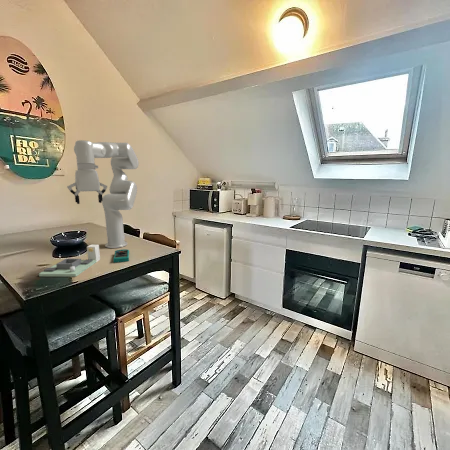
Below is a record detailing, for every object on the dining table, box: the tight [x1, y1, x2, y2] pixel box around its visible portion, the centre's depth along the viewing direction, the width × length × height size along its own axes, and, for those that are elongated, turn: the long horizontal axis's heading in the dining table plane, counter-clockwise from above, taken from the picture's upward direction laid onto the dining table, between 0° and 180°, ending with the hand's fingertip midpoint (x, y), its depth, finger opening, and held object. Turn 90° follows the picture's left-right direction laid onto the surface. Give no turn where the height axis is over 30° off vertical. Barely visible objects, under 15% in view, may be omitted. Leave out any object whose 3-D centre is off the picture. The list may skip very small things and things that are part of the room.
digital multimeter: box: [112, 249, 130, 264], centre depth 135 cm, size 7×15×3 cm, turn 20°
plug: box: [86, 244, 101, 263], centre depth 129 cm, size 5×4×8 cm
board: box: [38, 258, 97, 278], centre depth 119 cm, size 18×16×4 cm
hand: (89, 203), depth 125 cm, fingers open, 9 cm apart
